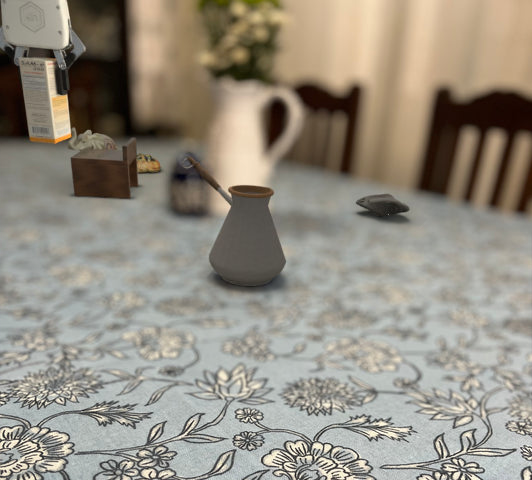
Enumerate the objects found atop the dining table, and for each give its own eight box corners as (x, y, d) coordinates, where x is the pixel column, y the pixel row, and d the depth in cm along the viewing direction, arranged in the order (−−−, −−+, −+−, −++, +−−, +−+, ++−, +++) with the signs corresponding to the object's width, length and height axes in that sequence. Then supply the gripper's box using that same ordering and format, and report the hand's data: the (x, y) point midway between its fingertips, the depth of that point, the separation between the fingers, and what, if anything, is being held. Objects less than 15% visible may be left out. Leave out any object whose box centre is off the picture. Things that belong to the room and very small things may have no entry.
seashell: (390, 225, 111) (419, 214, 116) (389, 198, 108) (419, 188, 113) (350, 220, 120) (379, 210, 125) (349, 195, 117) (378, 186, 122)
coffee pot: (300, 281, 78) (311, 178, 71) (241, 297, 71) (247, 185, 64) (214, 243, 91) (216, 153, 84) (157, 254, 84) (154, 157, 77)
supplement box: (47, 135, 98) (38, 56, 92) (72, 138, 99) (65, 59, 92) (28, 141, 91) (16, 56, 85) (55, 144, 91) (46, 59, 85)
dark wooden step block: (74, 195, 114) (68, 142, 109) (88, 182, 126) (83, 134, 121) (129, 198, 115) (126, 146, 110) (138, 185, 127) (136, 137, 122)
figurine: (70, 190, 132) (47, 129, 124) (116, 172, 140) (97, 113, 131) (90, 195, 127) (68, 131, 118) (137, 176, 135) (119, 114, 126)
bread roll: (147, 164, 152) (147, 146, 149) (168, 176, 146) (169, 158, 143) (113, 167, 146) (112, 149, 143) (133, 181, 140) (133, 162, 137)
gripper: (-36, -45, 78) (-14, 90, 87) (81, -32, 80) (91, 99, 89) (-16, -37, 84) (3, 87, 93) (92, -25, 86) (100, 96, 95)
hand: (45, 92), depth 91 cm, fingers closed on supplement box, 5 cm apart
